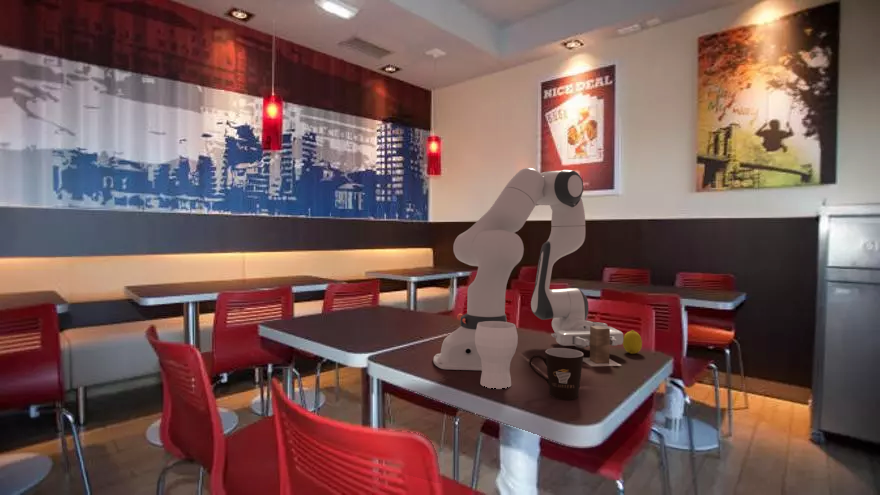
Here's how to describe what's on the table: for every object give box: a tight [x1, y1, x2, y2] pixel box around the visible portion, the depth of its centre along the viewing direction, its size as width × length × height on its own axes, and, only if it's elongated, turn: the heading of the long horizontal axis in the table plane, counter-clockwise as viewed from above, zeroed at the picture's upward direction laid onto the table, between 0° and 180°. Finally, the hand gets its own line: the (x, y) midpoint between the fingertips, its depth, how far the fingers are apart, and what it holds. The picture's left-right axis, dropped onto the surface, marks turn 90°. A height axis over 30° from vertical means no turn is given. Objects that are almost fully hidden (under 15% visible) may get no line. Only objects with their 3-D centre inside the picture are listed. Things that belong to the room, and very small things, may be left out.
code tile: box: [583, 357, 622, 367], centre depth 130 cm, size 9×9×1 cm
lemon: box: [622, 329, 643, 355], centre depth 140 cm, size 6×6×8 cm
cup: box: [475, 321, 519, 390], centre depth 111 cm, size 11×11×15 cm
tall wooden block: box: [589, 326, 611, 363], centre depth 130 cm, size 4×4×10 cm
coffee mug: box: [528, 347, 584, 401], centre depth 104 cm, size 12×9×10 cm
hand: (601, 343), depth 129 cm, fingers open, 7 cm apart
